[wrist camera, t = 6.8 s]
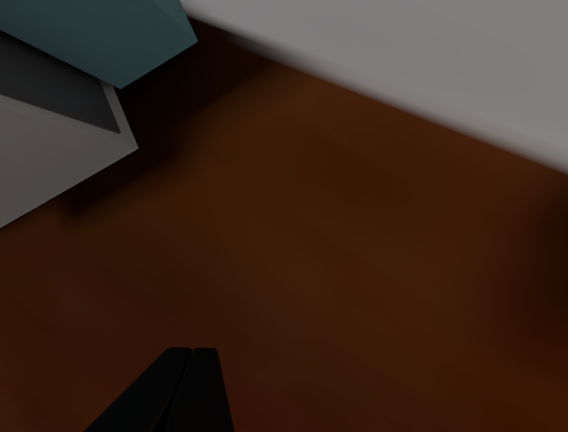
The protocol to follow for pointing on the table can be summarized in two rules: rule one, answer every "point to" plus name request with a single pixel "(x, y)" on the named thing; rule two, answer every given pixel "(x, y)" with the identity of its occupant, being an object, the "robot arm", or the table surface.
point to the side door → (102, 33)
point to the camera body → (52, 127)
